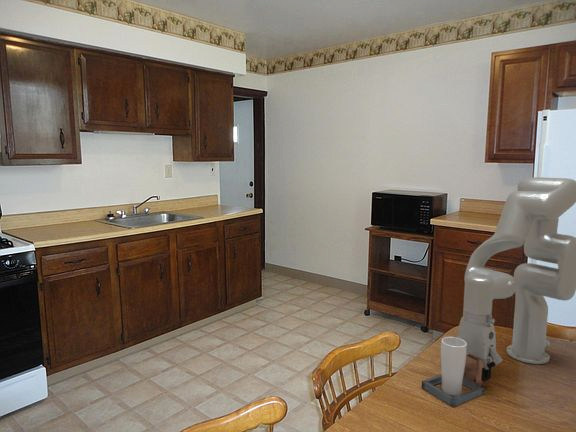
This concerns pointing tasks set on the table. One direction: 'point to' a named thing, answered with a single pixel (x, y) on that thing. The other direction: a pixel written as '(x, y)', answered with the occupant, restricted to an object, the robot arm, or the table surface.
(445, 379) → the drinking glass
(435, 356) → the table surface
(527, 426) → the table surface
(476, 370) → the frame
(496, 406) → the table surface
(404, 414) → the table surface
